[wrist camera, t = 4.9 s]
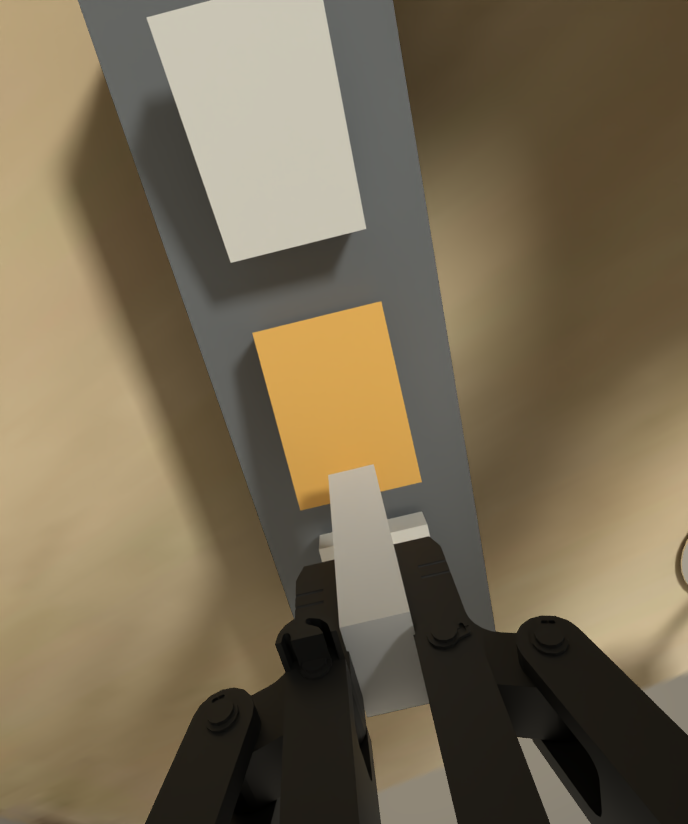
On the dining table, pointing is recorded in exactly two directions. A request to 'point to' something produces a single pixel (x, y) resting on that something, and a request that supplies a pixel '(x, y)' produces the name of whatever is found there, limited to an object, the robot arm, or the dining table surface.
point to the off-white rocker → (263, 120)
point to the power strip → (309, 280)
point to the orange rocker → (337, 400)
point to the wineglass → (684, 562)
